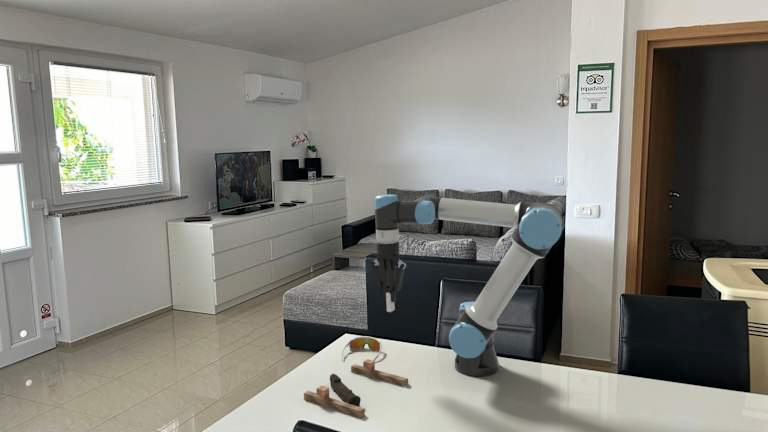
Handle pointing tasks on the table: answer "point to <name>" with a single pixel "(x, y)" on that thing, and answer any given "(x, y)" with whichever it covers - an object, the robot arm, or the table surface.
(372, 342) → the sunglasses
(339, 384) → the dark brown wooden log
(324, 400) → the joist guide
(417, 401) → the table surface
